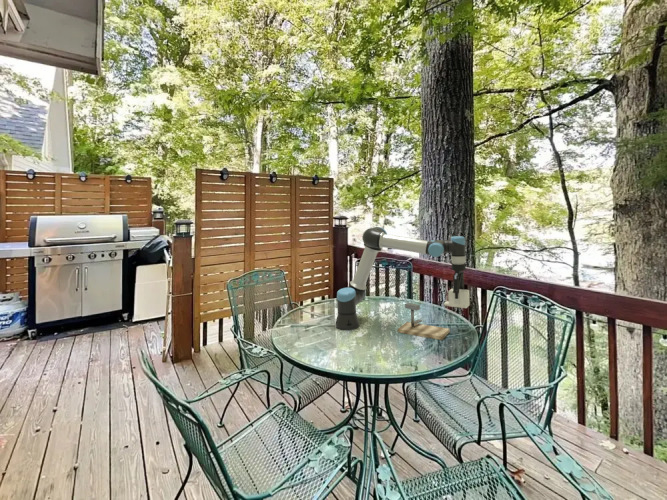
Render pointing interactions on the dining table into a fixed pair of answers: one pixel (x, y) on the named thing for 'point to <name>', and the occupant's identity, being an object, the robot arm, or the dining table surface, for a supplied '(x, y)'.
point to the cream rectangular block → (463, 299)
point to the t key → (413, 307)
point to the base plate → (424, 331)
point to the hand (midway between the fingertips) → (458, 302)
